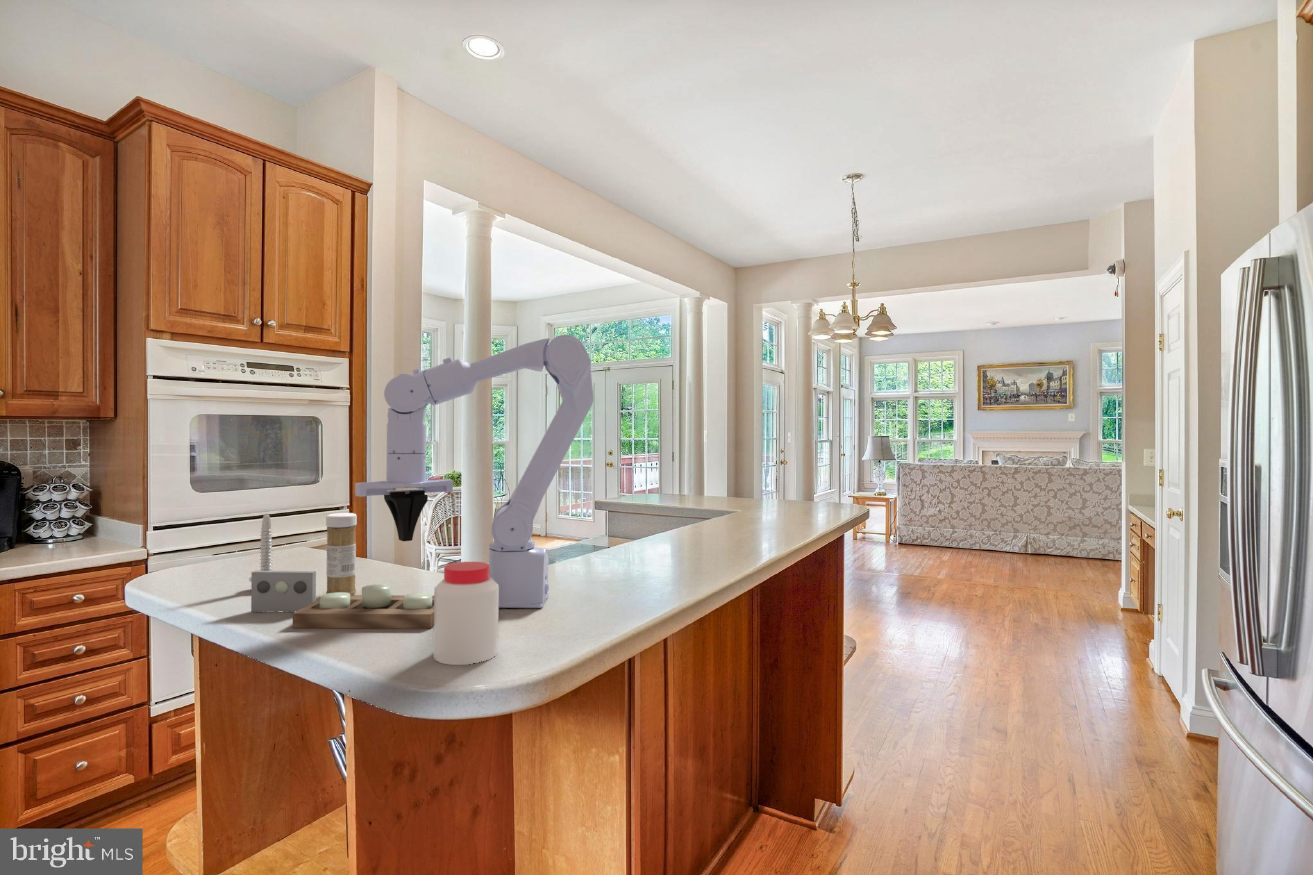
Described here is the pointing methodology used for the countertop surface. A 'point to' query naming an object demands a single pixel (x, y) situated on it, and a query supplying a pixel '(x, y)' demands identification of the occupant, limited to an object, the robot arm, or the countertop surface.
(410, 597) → the button
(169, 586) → the countertop surface
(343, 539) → the sprinkles bottle
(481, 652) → the pill bottle
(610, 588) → the countertop surface
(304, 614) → the wooden compartment tray
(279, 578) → the card
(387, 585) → the button mid
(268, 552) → the screw
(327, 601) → the button
